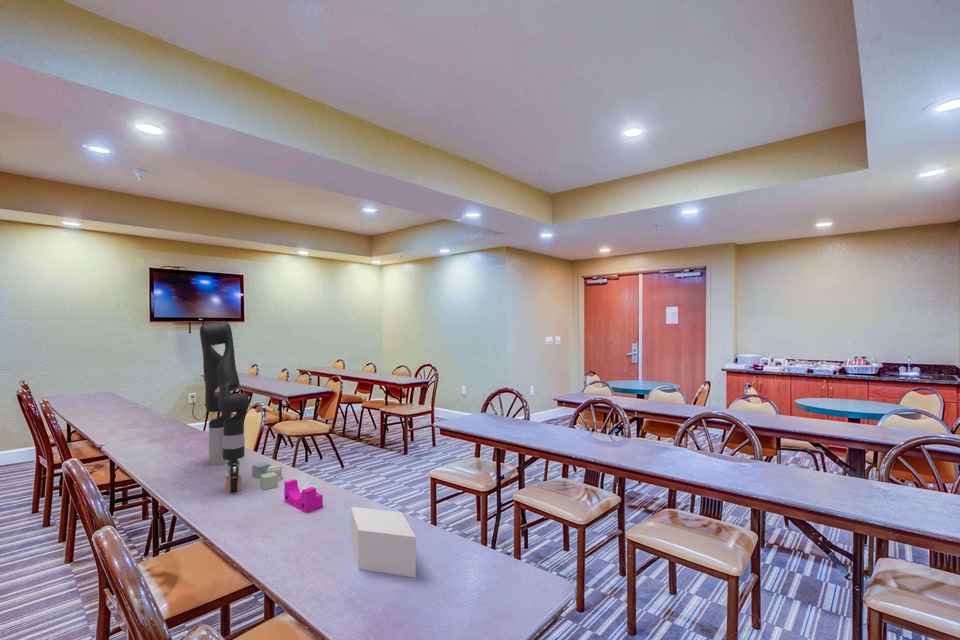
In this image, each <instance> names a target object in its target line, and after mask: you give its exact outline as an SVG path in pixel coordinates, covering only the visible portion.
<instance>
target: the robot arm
mask: <svg viewBox="0 0 960 640" xmlns="http://www.w3.org/2000/svg"><path fill="white" fill-rule="evenodd" d="M199 337H200V343H201V349H202V361H203V362H202V363H203V364H202V366H203V368H202V369H203V376H204V377H203V378H204V386H205V387H204V389H205V398H204V401H205V402H204V403H205V409H206V411H207V412H208V413H209V412H210V413H218V412H219V413H220V412H221V414H222V415H220V416H218V417H216V418H212V419H211V420H209V422H208V465H209V466H212V467H215V466H216V467H217V466H224V465H227V474H228V476H230V483H231V492H230V493H235V492H238V491H237V481H238V475H240V466H241V465H240V461H239V459H242V458H244V457H245V456H246V455H245V448H246V445H245V420H246V416H247V413H248V409H249V407H250V398H249V396H248V394H246V393H243V392H242V393H241V392H240V393H233V392H232V391H235V390H237V389H239V387H240V385H241V384H240V379H239V375H238V371H237V364H236V359H235V358H236V357H235V356H236V355H235V345H234V338H233V331H232V327H231V325H230V323H229V322H228V321H215V322H209V323H208V322H207V323H204V324H201V325H200V328H199ZM223 344H224V352H223V354H220V353H219V352H217V351H216V350H215V349H214V348H213V346H217V345H223ZM218 388H219V391H216V390H217V389H218ZM233 413H235V414H234V416H232V415H233ZM234 476H236V478H234V479H232V477H234Z"/></svg>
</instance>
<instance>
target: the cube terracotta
mask: <svg viewBox="0 0 960 640" xmlns="http://www.w3.org/2000/svg"><path fill="white" fill-rule="evenodd" d="M234 478H236V476H234V477H232V479H234ZM239 491H242V476H241V474H239V475H238V481H237V491H236V492H239ZM225 493H226V494H229V493H232V492H231V483H230V476H229V475H228V476H225Z"/></svg>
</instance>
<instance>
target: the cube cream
mask: <svg viewBox="0 0 960 640" xmlns="http://www.w3.org/2000/svg"><path fill="white" fill-rule="evenodd" d="M282 469H283V468H282V465H273V466H270V467H268V469H267V473H271V472H274V473H275V474H277V475H278V482H280V481H281V480H282Z"/></svg>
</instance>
